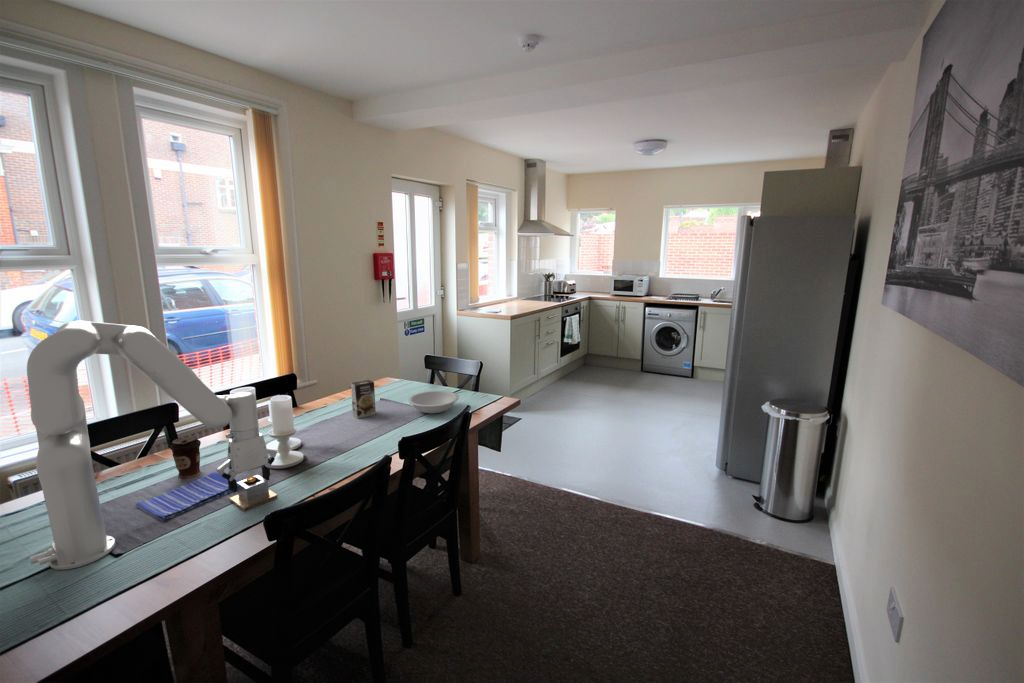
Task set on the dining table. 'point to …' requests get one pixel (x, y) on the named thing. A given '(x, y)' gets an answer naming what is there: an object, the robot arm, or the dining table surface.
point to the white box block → (253, 489)
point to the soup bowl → (433, 401)
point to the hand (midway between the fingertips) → (250, 484)
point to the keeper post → (246, 506)
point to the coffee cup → (186, 456)
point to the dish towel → (186, 497)
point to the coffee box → (363, 399)
